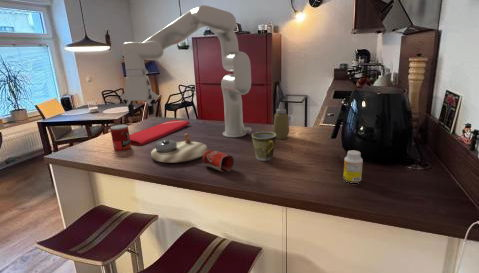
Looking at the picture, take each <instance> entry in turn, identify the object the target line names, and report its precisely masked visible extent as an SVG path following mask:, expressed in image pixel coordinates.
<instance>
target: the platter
mask: <svg viewBox="0 0 479 273" xmlns="http://www.w3.org/2000/svg"><path fill="white" fill-rule="evenodd" d="M183 136H184V141H183V140H182V141H176V143H177V149H176V150H175V151H173V152H168V153H159V152H156V147H155V148H153V149H152V150H151V152H150V157H151V158H152V159H153V160H154V161H156V162H161V163H170V164H171V163H182V162H188V161H189V162H190V161H192V160H196V159H199V158H202V157H203V154H204V153H205V152H206V151H207V150H208V146H207V145H206V144H205V143H202V142H200V141H199V142H198V141H191V137H190V136H191V135H190V133H184V135H183Z"/></svg>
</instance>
